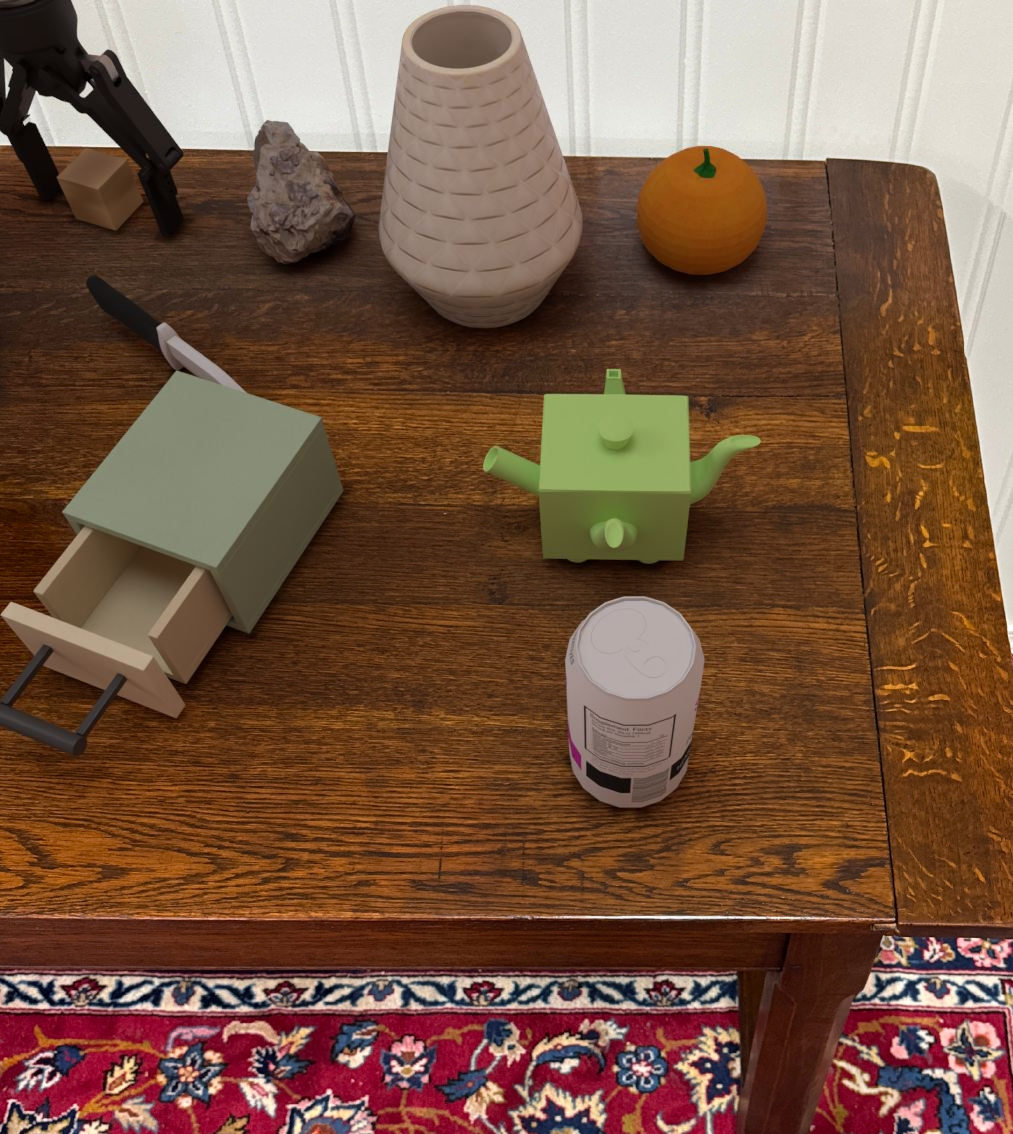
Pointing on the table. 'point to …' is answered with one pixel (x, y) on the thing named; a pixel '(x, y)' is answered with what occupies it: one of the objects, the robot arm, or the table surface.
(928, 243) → the table surface
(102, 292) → the knife
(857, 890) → the table surface
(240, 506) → the cabinet
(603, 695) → the supplement can
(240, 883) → the table surface
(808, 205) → the table surface
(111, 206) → the block
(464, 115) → the vase
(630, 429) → the kettle
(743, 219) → the fruit
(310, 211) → the rock
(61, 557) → the drawer
